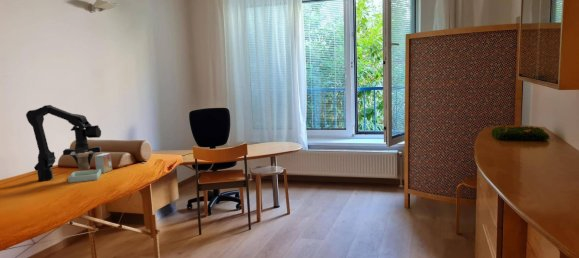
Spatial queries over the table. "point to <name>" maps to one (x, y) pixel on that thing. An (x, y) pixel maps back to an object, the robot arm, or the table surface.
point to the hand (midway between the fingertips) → (84, 165)
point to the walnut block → (83, 163)
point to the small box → (103, 162)
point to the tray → (84, 175)
